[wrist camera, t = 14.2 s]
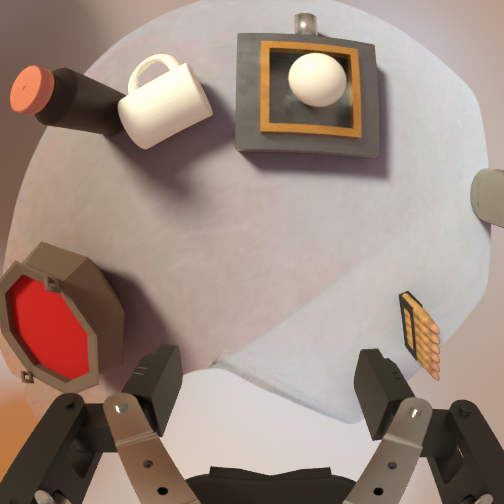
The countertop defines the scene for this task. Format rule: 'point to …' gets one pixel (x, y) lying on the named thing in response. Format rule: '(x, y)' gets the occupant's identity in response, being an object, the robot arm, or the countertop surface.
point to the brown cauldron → (61, 318)
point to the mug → (162, 103)
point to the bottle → (67, 100)
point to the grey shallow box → (296, 112)
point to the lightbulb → (317, 79)
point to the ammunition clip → (420, 333)
